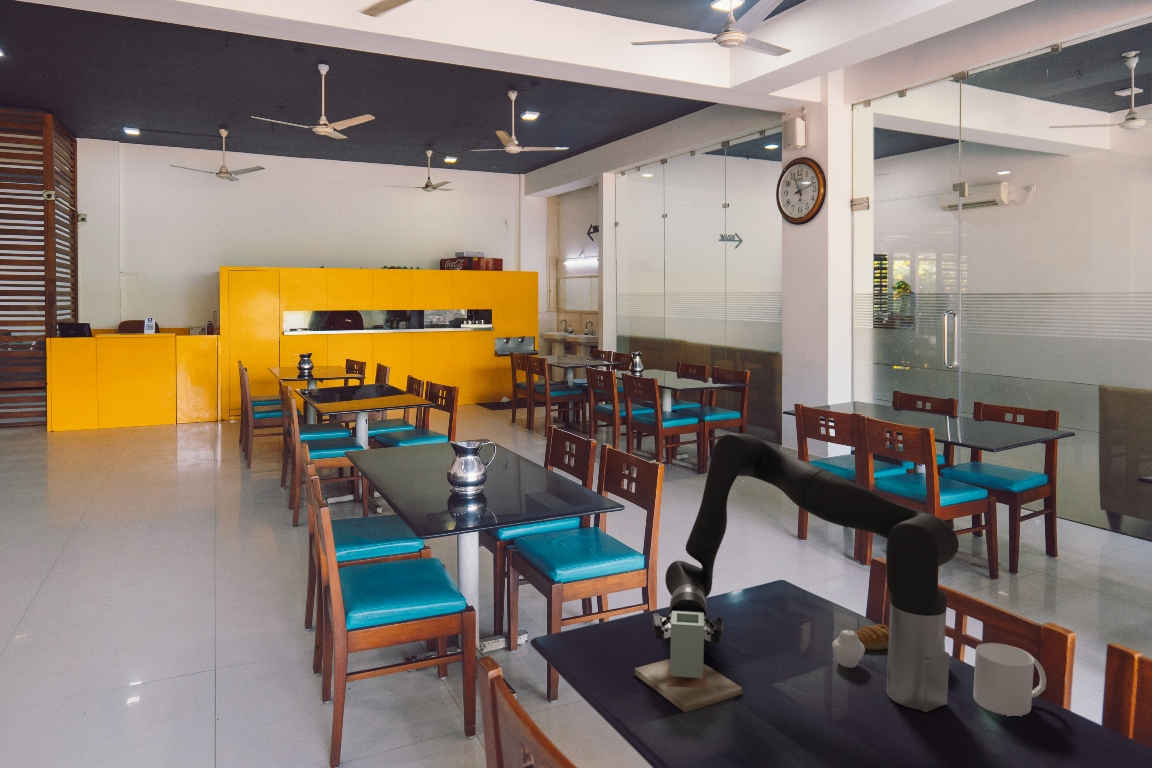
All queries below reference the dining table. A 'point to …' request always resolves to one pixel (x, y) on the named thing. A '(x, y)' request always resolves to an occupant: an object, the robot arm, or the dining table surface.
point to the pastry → (874, 637)
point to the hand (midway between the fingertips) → (687, 644)
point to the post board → (688, 686)
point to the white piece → (848, 649)
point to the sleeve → (687, 644)
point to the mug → (1005, 679)
